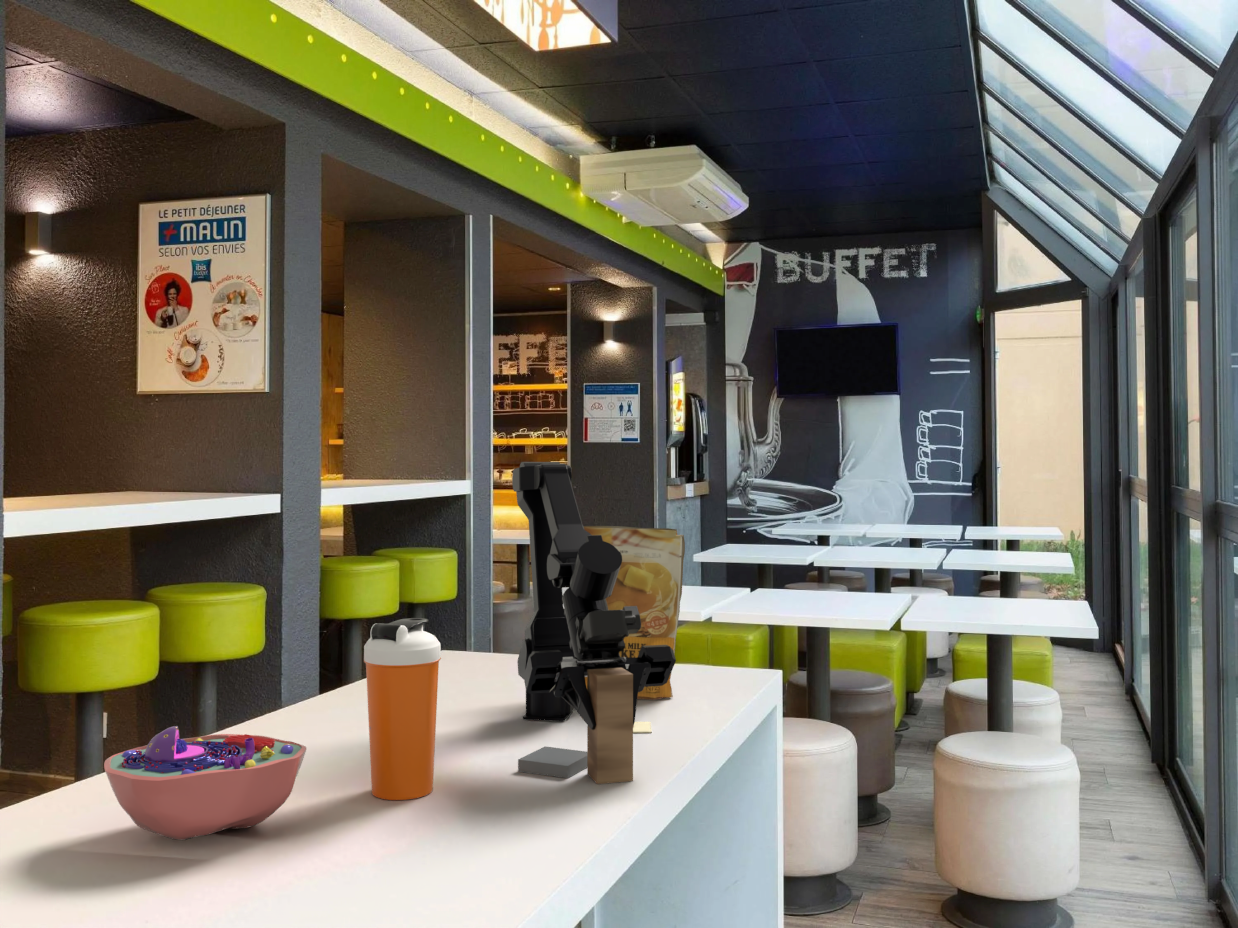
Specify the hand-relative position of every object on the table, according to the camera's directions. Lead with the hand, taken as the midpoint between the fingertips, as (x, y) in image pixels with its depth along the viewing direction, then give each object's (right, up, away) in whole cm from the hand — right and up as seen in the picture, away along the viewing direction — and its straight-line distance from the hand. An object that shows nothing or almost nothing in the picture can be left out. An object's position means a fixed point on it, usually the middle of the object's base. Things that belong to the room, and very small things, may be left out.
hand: (613, 726), depth 135 cm
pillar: (0, -7, +1) cm, 7 cm away
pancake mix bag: (+2, -7, +50) cm, 50 cm away
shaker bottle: (-25, -7, -5) cm, 26 cm away
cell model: (-42, -7, -19) cm, 47 cm away
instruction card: (+1, -6, +27) cm, 27 cm away
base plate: (-7, -7, +6) cm, 11 cm away
